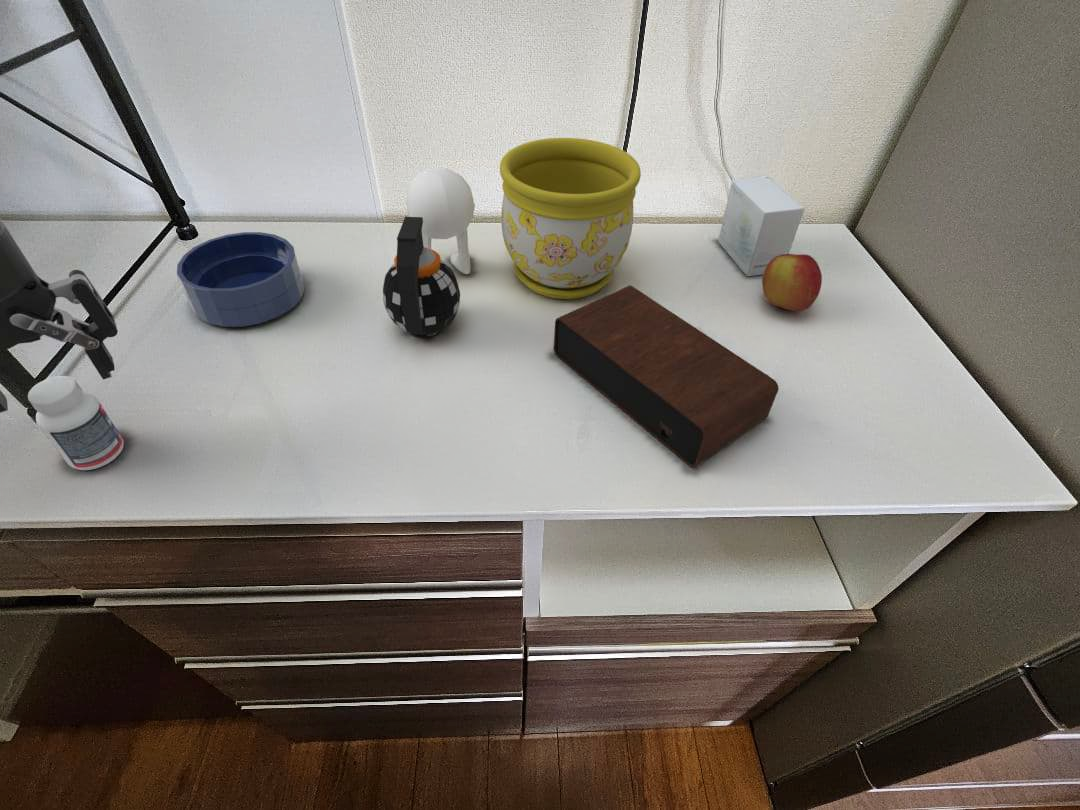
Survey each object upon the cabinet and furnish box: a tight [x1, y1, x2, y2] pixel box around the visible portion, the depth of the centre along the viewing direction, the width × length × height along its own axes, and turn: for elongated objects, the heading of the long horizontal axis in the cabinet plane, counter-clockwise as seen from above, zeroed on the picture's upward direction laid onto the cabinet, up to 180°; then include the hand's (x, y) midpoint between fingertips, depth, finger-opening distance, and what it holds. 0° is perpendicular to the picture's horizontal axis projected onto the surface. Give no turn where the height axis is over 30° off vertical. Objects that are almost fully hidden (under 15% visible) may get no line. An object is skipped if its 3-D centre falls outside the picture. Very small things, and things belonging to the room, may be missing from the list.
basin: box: [176, 231, 305, 328], centre depth 83 cm, size 14×14×6 cm
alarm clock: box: [553, 285, 780, 468], centre depth 72 cm, size 24×12×6 cm, turn 38°
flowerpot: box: [499, 137, 642, 300], centre depth 85 cm, size 18×18×16 cm
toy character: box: [405, 167, 476, 275], centre depth 86 cm, size 9×9×15 cm
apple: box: [761, 253, 823, 313], centre depth 84 cm, size 8×8×8 cm
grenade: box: [382, 216, 461, 339], centre depth 75 cm, size 11×10×15 cm
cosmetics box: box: [717, 174, 805, 277], centre depth 92 cm, size 10×6×10 cm, turn 13°
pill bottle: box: [27, 375, 125, 471], centre depth 62 cm, size 5×5×9 cm
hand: (56, 389), depth 59 cm, fingers open, 8 cm apart
